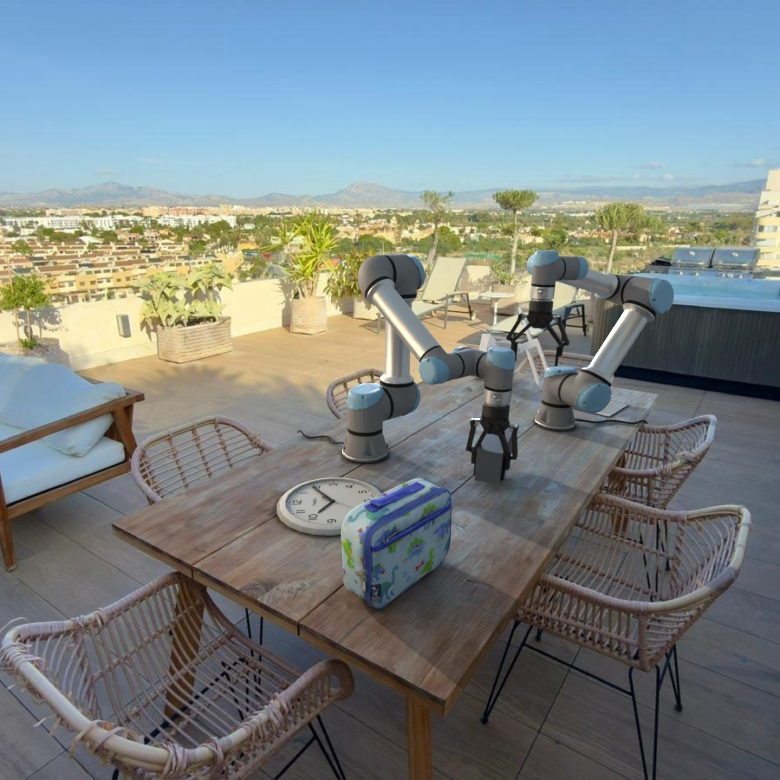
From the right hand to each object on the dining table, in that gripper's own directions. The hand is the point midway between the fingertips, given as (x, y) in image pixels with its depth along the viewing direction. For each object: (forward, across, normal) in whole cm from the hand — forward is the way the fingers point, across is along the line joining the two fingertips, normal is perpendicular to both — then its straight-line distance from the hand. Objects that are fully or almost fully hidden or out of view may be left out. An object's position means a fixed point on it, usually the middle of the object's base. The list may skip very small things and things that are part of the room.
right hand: (535, 363), depth 175 cm
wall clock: (+30, -43, -64) cm, 83 cm away
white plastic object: (+30, -20, +74) cm, 82 cm away
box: (+27, -6, -28) cm, 40 cm away
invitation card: (+30, +24, +57) cm, 68 cm away
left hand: (+26, -6, -36) cm, 45 cm away
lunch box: (+30, -16, -86) cm, 93 cm away
